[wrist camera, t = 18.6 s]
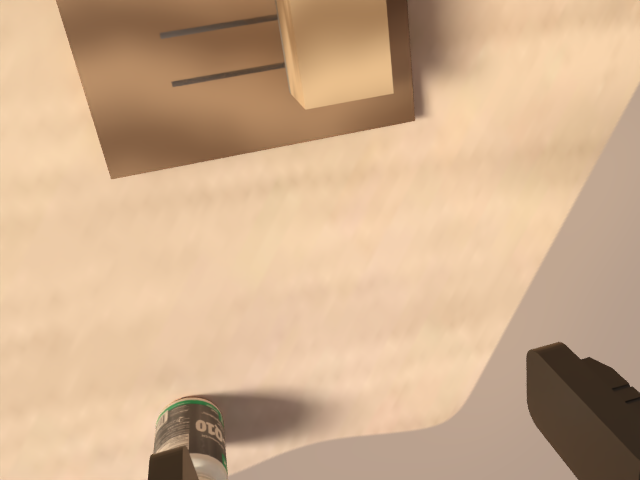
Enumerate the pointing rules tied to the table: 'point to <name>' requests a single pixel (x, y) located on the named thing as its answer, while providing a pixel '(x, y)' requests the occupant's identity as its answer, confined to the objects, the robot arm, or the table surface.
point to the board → (208, 81)
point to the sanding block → (335, 50)
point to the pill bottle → (194, 435)
